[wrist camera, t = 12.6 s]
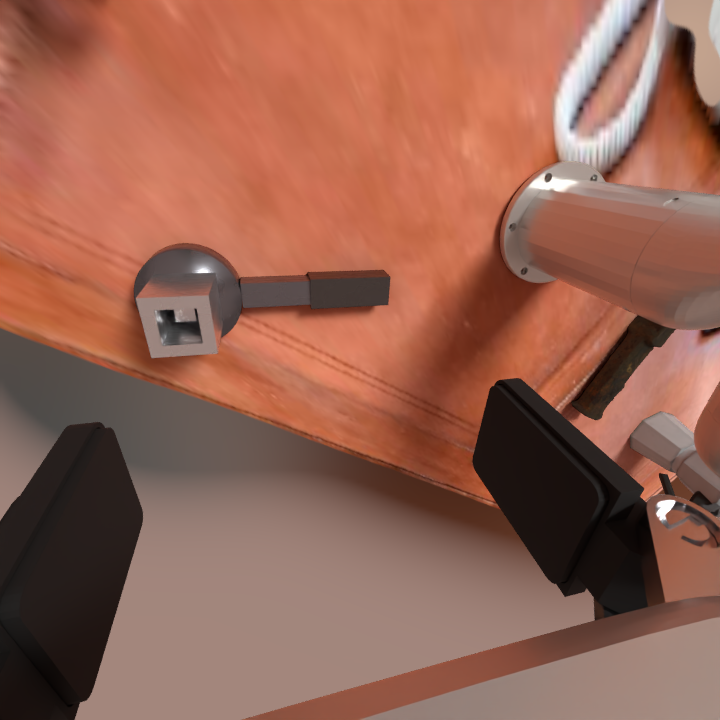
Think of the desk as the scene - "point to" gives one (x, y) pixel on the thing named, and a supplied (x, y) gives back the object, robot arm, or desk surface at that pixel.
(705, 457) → the robot arm
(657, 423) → the coffee maker
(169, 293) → the socket
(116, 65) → the desk surface
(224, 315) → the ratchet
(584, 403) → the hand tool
